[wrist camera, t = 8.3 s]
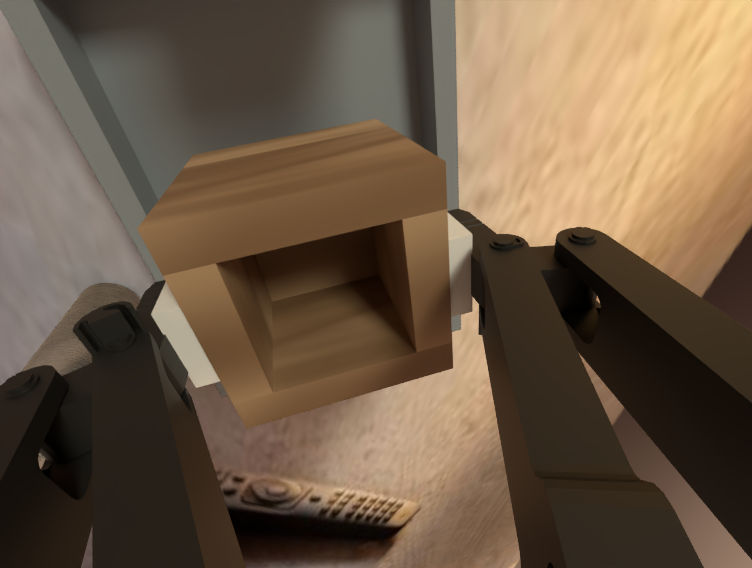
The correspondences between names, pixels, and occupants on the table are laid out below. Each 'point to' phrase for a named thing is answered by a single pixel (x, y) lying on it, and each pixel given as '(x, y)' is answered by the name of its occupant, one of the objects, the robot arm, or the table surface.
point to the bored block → (310, 265)
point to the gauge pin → (62, 342)
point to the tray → (235, 81)
